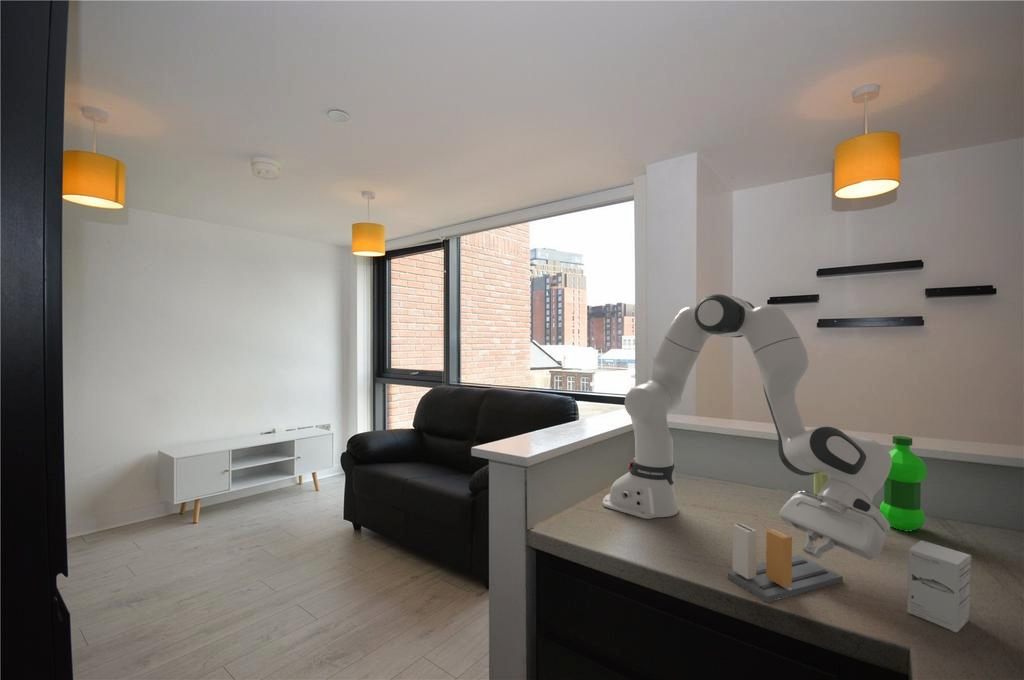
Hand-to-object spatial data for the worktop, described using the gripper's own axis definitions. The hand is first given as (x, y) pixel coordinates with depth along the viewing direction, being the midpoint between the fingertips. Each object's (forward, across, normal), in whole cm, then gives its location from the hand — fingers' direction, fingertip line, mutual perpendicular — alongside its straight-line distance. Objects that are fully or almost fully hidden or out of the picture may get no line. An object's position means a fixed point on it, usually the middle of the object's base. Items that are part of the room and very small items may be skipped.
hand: (810, 554), depth 99 cm
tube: (-19, -20, +27) cm, 39 cm away
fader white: (+12, -5, -7) cm, 15 cm away
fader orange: (+9, 0, -4) cm, 10 cm away
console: (+7, -2, +1) cm, 8 cm away
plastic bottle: (-31, -11, +40) cm, 52 cm away
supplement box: (-3, +17, +12) cm, 21 cm away
